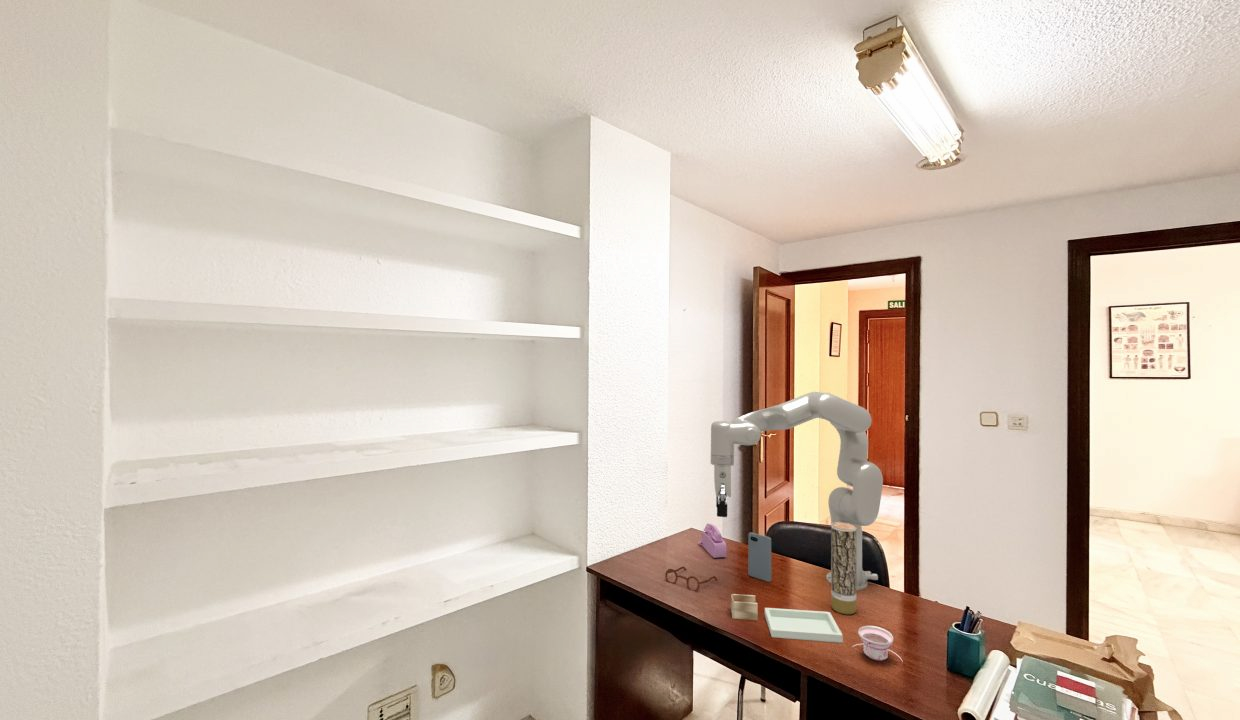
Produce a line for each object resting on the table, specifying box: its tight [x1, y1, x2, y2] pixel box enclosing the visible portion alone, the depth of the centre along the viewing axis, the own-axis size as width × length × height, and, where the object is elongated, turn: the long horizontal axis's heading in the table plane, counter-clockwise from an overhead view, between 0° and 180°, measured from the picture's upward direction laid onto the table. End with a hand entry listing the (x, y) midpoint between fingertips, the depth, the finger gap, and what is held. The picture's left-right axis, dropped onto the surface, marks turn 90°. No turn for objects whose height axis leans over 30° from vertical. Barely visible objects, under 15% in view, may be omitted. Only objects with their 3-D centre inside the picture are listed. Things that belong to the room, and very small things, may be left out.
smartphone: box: [747, 532, 772, 583], centre depth 168 cm, size 8×1×15 cm, turn 47°
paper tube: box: [830, 522, 857, 616], centre depth 147 cm, size 7×7×25 cm
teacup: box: [851, 625, 903, 663], centre depth 123 cm, size 12×12×6 cm
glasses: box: [664, 565, 718, 593], centre depth 166 cm, size 13×13×5 cm
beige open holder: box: [730, 593, 759, 621], centre depth 143 cm, size 7×5×5 cm
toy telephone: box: [697, 523, 727, 559], centre depth 194 cm, size 18×6×10 cm, turn 10°
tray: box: [764, 607, 844, 644], centre depth 136 cm, size 18×12×2 cm, turn 82°
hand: (721, 511), depth 161 cm, fingers open, 9 cm apart
